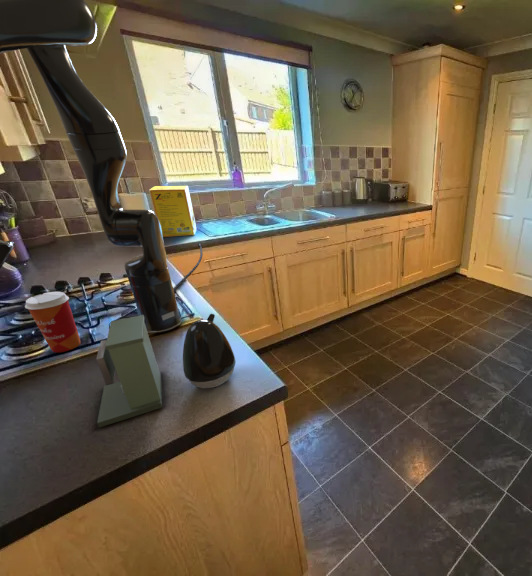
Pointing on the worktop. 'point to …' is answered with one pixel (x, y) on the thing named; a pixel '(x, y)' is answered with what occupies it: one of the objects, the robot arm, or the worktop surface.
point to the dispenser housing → (130, 373)
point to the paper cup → (54, 320)
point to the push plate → (106, 363)
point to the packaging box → (173, 210)
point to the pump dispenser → (207, 355)
